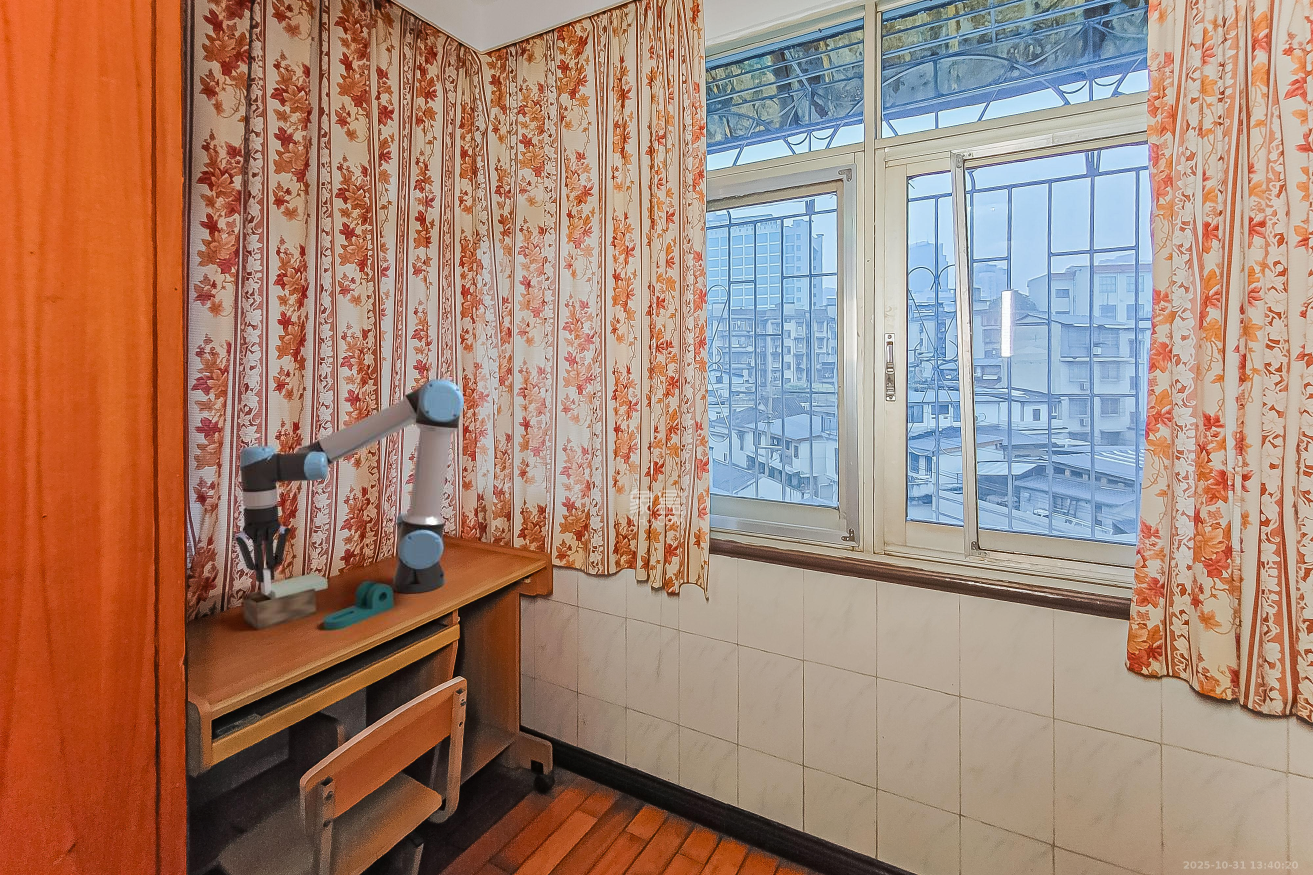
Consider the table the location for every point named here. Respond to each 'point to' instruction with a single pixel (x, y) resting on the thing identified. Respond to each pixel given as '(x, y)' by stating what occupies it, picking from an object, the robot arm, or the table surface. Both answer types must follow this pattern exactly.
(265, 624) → the box
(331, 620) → the bracket
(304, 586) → the lid
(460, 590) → the table surface
